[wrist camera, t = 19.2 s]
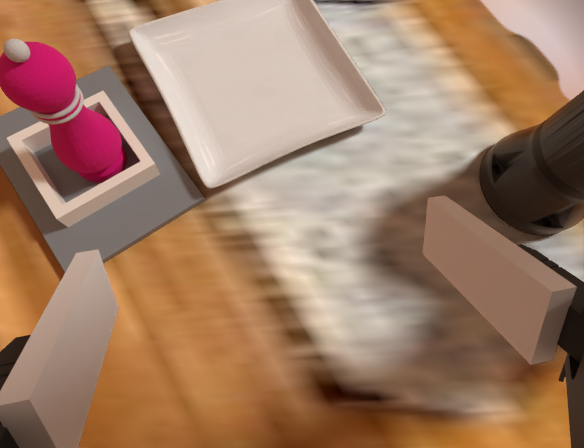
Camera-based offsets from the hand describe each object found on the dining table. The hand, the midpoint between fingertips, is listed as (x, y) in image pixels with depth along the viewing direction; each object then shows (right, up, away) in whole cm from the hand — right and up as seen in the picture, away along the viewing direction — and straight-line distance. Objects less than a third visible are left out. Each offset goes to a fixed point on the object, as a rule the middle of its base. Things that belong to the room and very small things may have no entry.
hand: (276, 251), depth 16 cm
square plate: (-5, +21, +42) cm, 47 cm away
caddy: (-25, +9, +35) cm, 44 cm away
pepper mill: (-24, +9, +34) cm, 43 cm away
